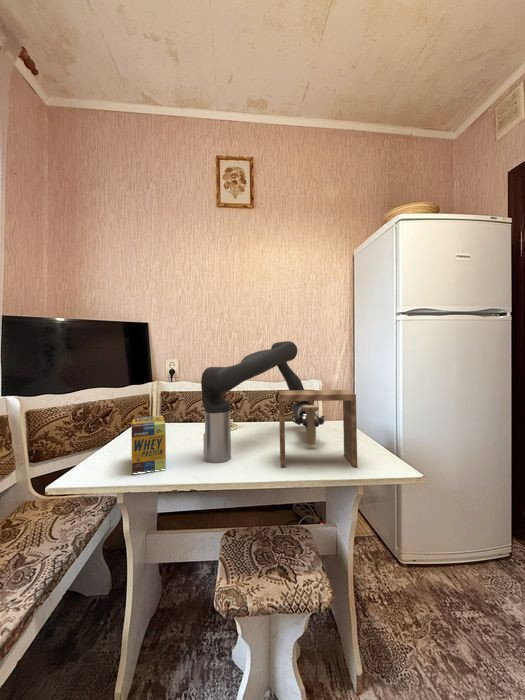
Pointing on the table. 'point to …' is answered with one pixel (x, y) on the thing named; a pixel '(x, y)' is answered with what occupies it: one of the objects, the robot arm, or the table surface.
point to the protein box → (148, 444)
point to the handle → (310, 423)
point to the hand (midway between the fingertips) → (311, 424)
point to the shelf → (324, 395)
